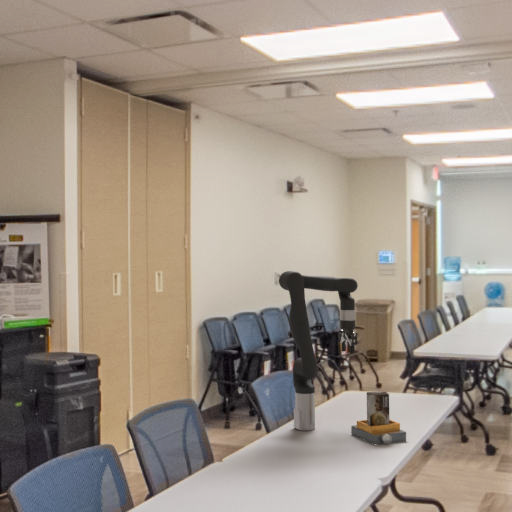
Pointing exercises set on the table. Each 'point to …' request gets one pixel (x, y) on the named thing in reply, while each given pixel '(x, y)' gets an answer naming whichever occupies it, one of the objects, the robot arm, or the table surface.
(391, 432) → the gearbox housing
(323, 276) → the robot arm
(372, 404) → the coffee box
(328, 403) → the table surface
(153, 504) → the table surface
